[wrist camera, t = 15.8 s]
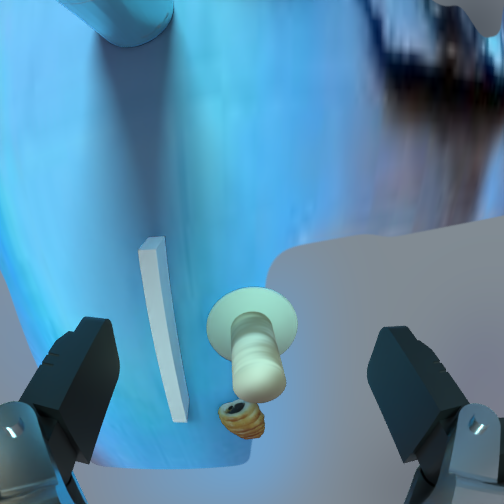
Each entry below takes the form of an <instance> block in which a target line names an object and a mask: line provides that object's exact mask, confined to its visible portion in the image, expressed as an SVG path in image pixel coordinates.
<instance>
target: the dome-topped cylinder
mask: <svg viewBox="0 0 504 504" xmlns="http://www.w3.org/2000/svg"><path fill="white" fill-rule="evenodd" d="M231 354H232V379H233V390H234V392H235V394H236V395H237V396H238V397H239V398H240V399H242V400H244V401H246V402H250V403H265V402H268V401H271V400H273V399H275V398H277V397H278V396H279V395H281V393H282V392H283V391H284V389H285V387H286V378H285V374H284V370H283V367H282V362H281V359H280V354H279V350H278V346H277V342H276V338H275V334H274V330H273V326H272V323H271V321H270V319H269V318H268V317H267V316H266V315H264V314H262V313H260V312H255V311H251V312H245V313H243V314H240V315H239V316H238V317H236V318H235V319H234V321H233V322H232V325H231Z"/></svg>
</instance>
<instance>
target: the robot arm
mask: <svg viewBox="0 0 504 504" xmlns="http://www.w3.org/2000/svg"><path fill="white" fill-rule="evenodd" d="M56 1H57V2H59V3H60V4H61V5H63V6H64V7H65V8H67V9H68V10H69V11H71V12H72V13H73V14H75V15H76V16H77V17H78V18H80V19H81V20H82V21H84V22H85V23H86V24H87V25H89V26H90V27H91V28H92V29H94V30H95V31H96V32H97V33H98V34H100V35H101V36H102V37H103V38H105V39H106V40H107V41H109V42H110V43H111V44H113V45H116V46H120V47H134V46H139V45H142V44H145V43H147V42H149V41H151V40H152V39H154V38H156V37H157V36H158V35H159V34H160V33H162V31H163V30H164V29H165V28H166V27H167V25H168V24H169V22H170V20H171V18H172V15H173V8H174V6H173V1H172V0H56ZM439 361H440V360H439V359H438V357H437V356H436V355H435V353H434V352H433V351H432V349H430V348H429V347H428V346H426V345H425V344H424V343H422V342H421V341H419V340H417V339H416V338H415V336H414V335H413V334H412V332H411V331H410V330H409V328H408V327H406V326H394V327H383V328H382V329H381V330H380V332H379V335H378V338H377V341H376V344H375V347H374V350H373V353H372V355H371V358H370V361H369V364H368V368H367V379H368V383H369V385H370V387H371V390H372V392H373V394H374V396H375V399H376V401H377V403H378V405H379V408H380V410H381V412H382V414H383V416H384V419H385V421H386V424H387V426H388V428H389V430H390V433H391V435H392V437H393V440H394V442H395V444H396V447H397V449H398V451H399V454H400V456H401V459H402V461H403V463H407V462H410V461H414V460H418V461H419V464H420V465H419V467H418V468H417V469H416V472H415V474H414V477H413V480H412V483H411V486H410V489H409V492H408V494H407V497H406V499H405V502H404V504H504V418H498V417H497V415H496V414H495V413H494V412H493V411H492V410H491V409H490V408H488V407H486V406H485V405H482V404H476V403H473V404H470V403H469V402H468V400H467V399H466V397H465V396H464V394H463V393H462V391H461V390H460V389H459V387H458V386H457V384H456V383H455V381H454V380H453V378H452V377H451V376H450V374H449V373H448V372H446V369H445V367H444V366H443V364H442V363H440V362H439ZM119 371H120V362H119V356H118V352H117V347H116V343H115V338H114V333H113V328H112V324H111V321H110V320H109V319H103V318H94V317H84V318H83V319H82V320H81V322H80V323H79V325H78V326H77V328H76V330H75V331H74V332H71V331H68V332H67V333H66V334H64V335H63V336H62V337H60V338H59V339H58V340H56V341H55V343H54V345H53V346H52V348H51V349H50V351H49V352H48V355H46V357H45V358H44V360H43V361H42V365H40V366H39V368H38V369H37V371H36V373H35V374H34V376H33V378H32V380H31V381H30V383H29V384H28V386H27V388H26V389H25V391H24V393H23V395H22V396H21V398H20V400H19V401H12V402H7V403H4V404H2V405H0V504H88V502H87V500H86V498H85V496H84V494H83V492H82V490H81V488H80V486H79V483H78V481H77V479H76V477H75V475H74V473H73V471H72V470H73V467H74V464H75V461H78V462H82V463H86V464H89V463H90V460H91V457H92V454H93V450H94V447H95V444H96V441H97V438H98V435H99V432H100V429H101V426H102V423H103V420H104V417H105V414H106V411H107V408H108V405H109V402H110V400H111V397H112V394H113V391H114V389H115V386H116V383H117V380H118V377H119Z"/></svg>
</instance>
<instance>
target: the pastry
mask: <svg viewBox="0 0 504 504" xmlns="http://www.w3.org/2000/svg"><path fill="white" fill-rule="evenodd" d="M218 414H219V418H220V420H221V422H222V424H223V425H225V427H226V428H227V429H228V430H229V431H230V432H232V433H234V434H236V435H237V436H239V437H241V438H244V439H253V438H260V437H261V435H262V434H263V433H264V429H265V427H264V426H265V422H264V414H263V413H262V412H261V411H260V409H259V406H258V404H257V403H250V402H246V401H244V400H242V399H238V400H235V401H233V402H230V403H225V404H223V405H222V406H221V407H220V408H219V410H218Z"/></svg>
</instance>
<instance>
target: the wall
mask: <svg viewBox="0 0 504 504" xmlns="http://www.w3.org/2000/svg"><path fill="white" fill-rule="evenodd" d="M138 255H139V262H140V269H141V275H142V282H143V288H144V294H145V300H146V305H147V311H148V316H149V321H150V327H151V332H152V336H153V341H154V346H155V351H156V355H157V360H158V364H159V368H160V373H161V377H162V381H163V385H164V389H165V393H166V397H167V401H168V404H169V408H170V412H171V415H172V419H173V422H187V417H188V407H189V395H188V390H187V385H186V380H185V374H184V369H183V364H182V358H181V352H180V346H179V340H178V334H177V328H176V322H175V315H174V308H173V301H172V294H171V287H170V279H169V271H168V262H167V253H166V244H165V236H157V237H148V238H147V239H146V241H145V242H144V243H143V244H142V246H141V247H140V248H139V249H138Z"/></svg>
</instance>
